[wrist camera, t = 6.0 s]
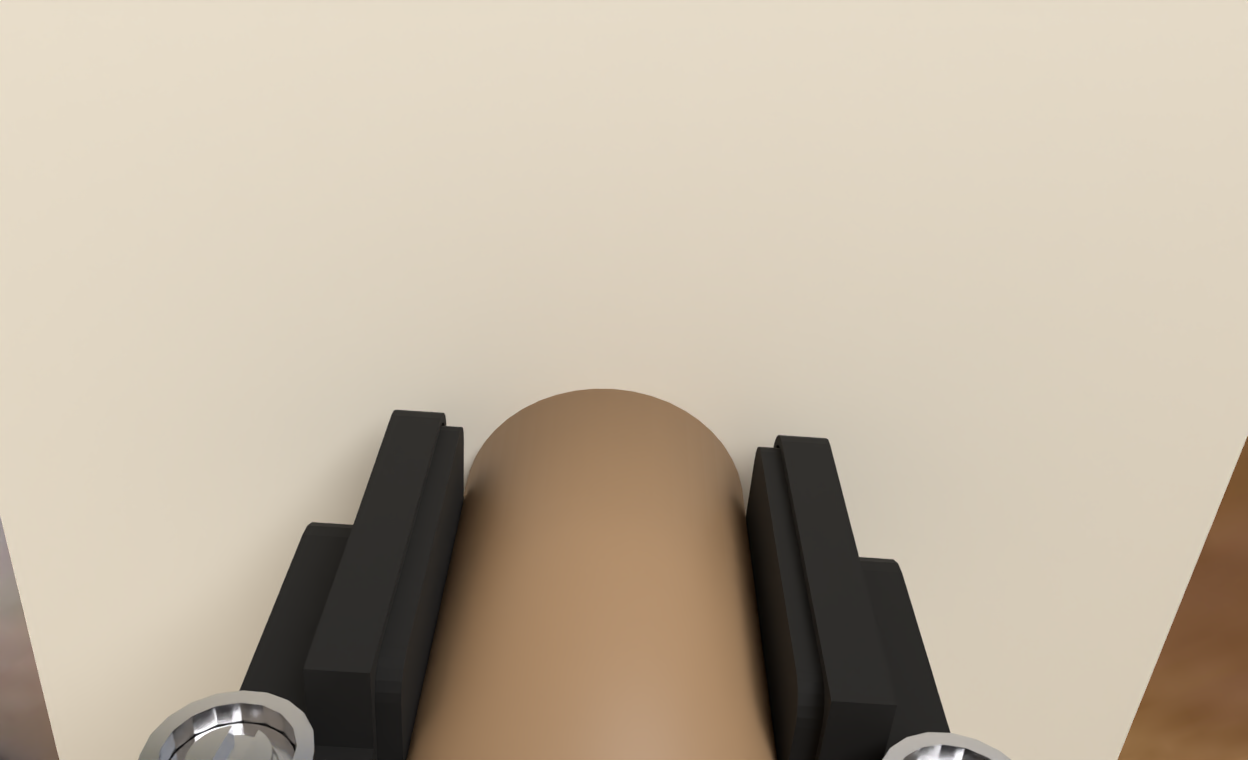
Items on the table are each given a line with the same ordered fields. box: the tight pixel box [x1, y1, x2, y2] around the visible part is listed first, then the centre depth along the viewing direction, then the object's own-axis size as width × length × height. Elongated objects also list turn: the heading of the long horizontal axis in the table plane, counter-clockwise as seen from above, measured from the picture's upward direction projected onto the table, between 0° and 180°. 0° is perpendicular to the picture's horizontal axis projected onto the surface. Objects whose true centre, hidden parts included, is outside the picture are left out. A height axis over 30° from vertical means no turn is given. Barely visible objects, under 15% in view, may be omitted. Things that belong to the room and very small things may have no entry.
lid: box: [0, 0, 1248, 760], centre depth 11 cm, size 14×14×7 cm
